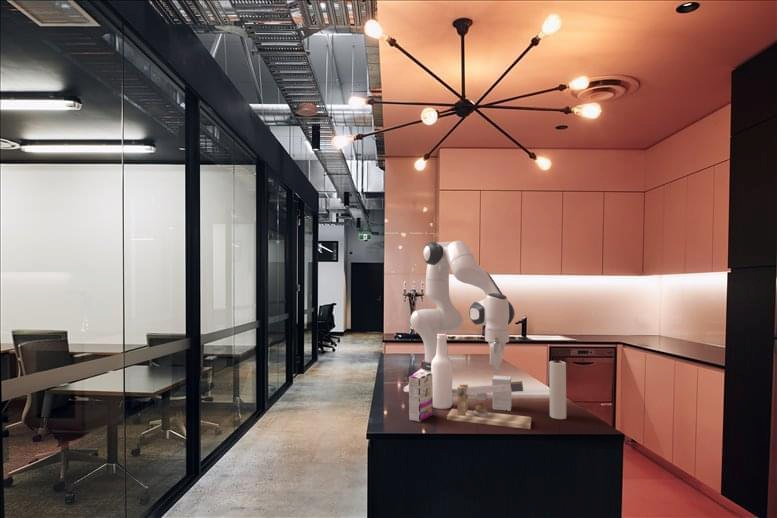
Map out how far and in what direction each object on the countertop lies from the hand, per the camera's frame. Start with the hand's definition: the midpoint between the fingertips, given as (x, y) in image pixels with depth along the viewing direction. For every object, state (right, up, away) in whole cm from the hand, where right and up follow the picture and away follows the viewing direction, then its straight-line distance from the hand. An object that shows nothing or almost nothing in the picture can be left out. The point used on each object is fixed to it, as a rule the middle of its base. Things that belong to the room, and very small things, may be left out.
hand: (496, 373), depth 170 cm
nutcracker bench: (-3, -18, 0) cm, 18 cm away
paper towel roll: (+25, -18, +5) cm, 32 cm away
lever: (-2, -9, 0) cm, 10 cm away
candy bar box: (-28, -18, +3) cm, 34 cm away
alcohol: (-19, -19, +18) cm, 32 cm away
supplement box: (+6, -19, +17) cm, 26 cm away
